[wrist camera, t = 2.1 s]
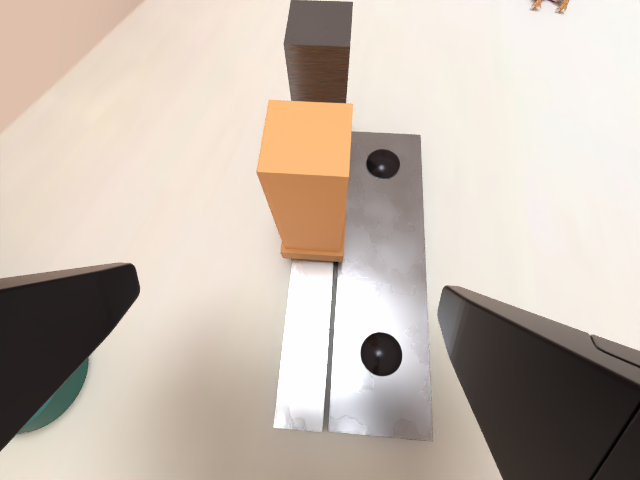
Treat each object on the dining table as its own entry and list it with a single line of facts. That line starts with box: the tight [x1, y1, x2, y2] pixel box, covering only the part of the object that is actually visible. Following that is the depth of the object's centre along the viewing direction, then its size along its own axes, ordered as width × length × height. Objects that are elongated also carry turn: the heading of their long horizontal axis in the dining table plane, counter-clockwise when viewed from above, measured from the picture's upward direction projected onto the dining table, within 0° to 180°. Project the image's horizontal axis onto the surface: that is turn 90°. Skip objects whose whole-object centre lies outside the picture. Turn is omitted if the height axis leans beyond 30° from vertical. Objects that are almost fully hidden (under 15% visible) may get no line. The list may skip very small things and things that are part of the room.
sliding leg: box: [256, 100, 353, 262], centre depth 17 cm, size 4×4×10 cm
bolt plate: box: [328, 131, 433, 441], centre depth 23 cm, size 22×6×1 cm, turn 176°
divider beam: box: [273, 0, 353, 432], centre depth 18 cm, size 22×4×12 cm, turn 176°
